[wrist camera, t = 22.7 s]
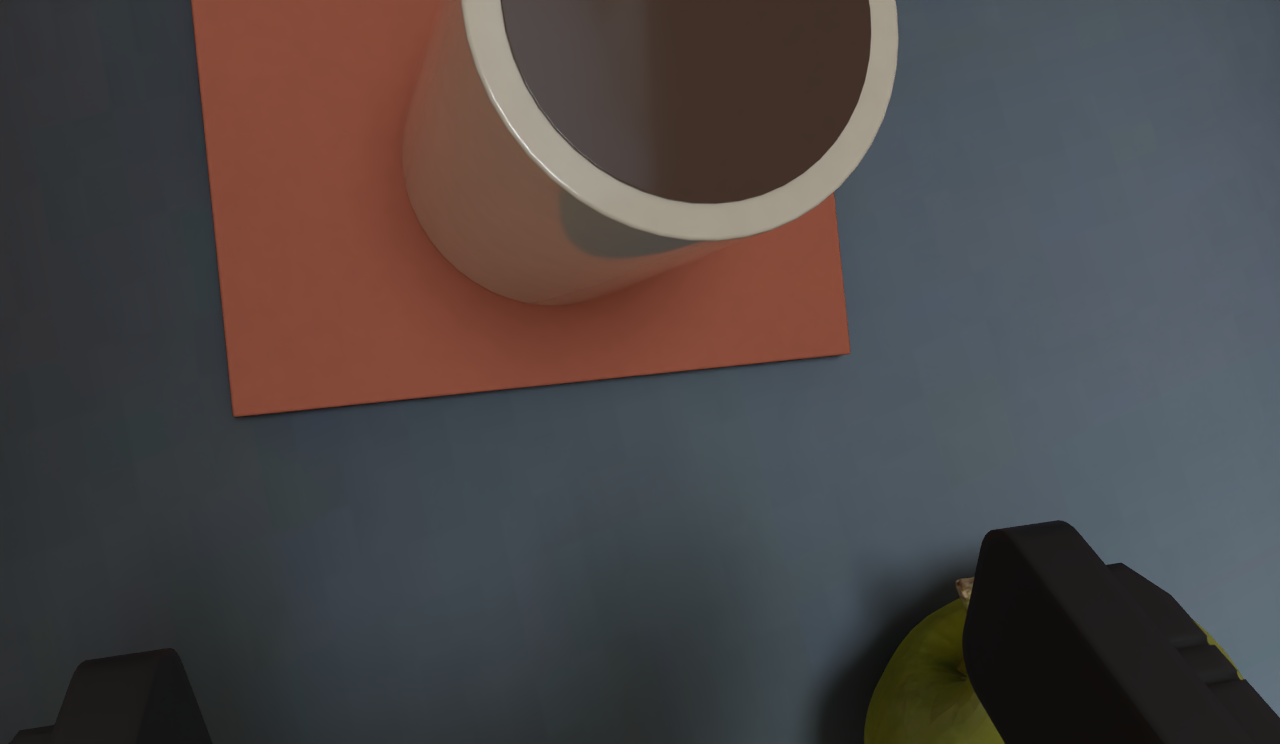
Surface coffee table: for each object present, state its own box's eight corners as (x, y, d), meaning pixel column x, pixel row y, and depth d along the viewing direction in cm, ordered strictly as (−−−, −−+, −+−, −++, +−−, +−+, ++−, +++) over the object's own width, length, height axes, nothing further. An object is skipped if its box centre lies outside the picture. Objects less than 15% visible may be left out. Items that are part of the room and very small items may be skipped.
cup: (416, 317, 21) (487, 253, 13) (386, 15, 21) (437, -249, 13) (698, 295, 23) (923, 227, 15) (669, 19, 23) (878, -208, 15)
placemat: (234, 417, 21) (232, 417, 20) (185, -70, 21) (182, -81, 20) (841, 354, 25) (851, 353, 25) (799, -48, 25) (808, -57, 25)
